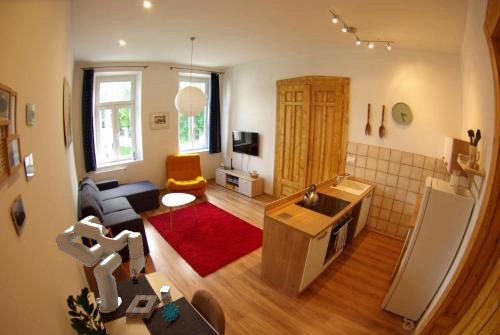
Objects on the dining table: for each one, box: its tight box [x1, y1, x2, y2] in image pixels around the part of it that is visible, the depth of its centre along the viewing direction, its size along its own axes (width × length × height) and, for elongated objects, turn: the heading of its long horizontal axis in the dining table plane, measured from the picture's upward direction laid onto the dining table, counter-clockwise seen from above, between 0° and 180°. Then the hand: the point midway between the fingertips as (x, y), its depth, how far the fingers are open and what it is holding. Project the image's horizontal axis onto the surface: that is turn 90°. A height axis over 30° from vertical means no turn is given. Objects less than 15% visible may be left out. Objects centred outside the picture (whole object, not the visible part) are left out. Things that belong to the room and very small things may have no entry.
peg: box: [160, 285, 171, 301], centre depth 166 cm, size 4×4×7 cm
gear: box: [161, 302, 180, 322], centre depth 153 cm, size 11×6×10 cm
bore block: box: [125, 294, 159, 319], centre depth 158 cm, size 14×14×4 cm
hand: (139, 278), depth 153 cm, fingers open, 9 cm apart
